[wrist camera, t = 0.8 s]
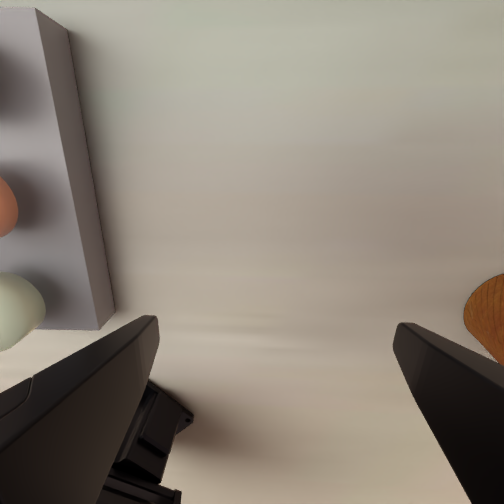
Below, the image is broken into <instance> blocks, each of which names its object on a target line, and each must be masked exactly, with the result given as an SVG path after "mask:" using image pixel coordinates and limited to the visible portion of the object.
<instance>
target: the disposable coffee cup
mask: <svg viewBox="0 0 504 504" xmlns="http://www.w3.org/2000/svg"><path fill="white" fill-rule="evenodd" d="M464 322H465V325H466V327H467V329H468V331H469V332H470V333H471V334H472V335H473V336H474V337H475V338H476V339H477V340H478V341H479V342H480V343H481V344H482V345H483V346H484V347H485V348H486V350H487V351H488V352H489V353H490V354H491V355H492V356H493V357H494V358H495V359H496V360H497V361H498V362H499V364H501V365H503V366H504V274H502V275H499V276H496V277H494V278H492V279H490V280H488V281H486V282H485V283H484V284H483V285H481V286H480V287H479V288H478V289H477V290H476V291H475V292H474V293H473V294H472V295H471V297H470V298H469V300H468V302H467V304H466V306H465V310H464Z"/></svg>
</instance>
